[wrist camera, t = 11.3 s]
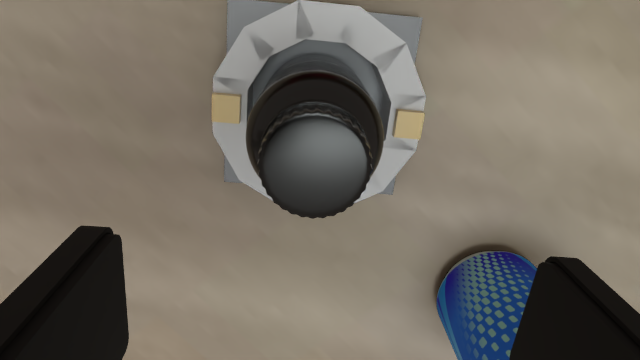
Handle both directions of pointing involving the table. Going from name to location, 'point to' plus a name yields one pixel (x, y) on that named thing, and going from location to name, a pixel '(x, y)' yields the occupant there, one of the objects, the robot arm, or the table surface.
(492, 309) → the beer can
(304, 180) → the supplement bottle
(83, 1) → the table surface
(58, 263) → the robot arm
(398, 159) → the socket
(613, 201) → the table surface
